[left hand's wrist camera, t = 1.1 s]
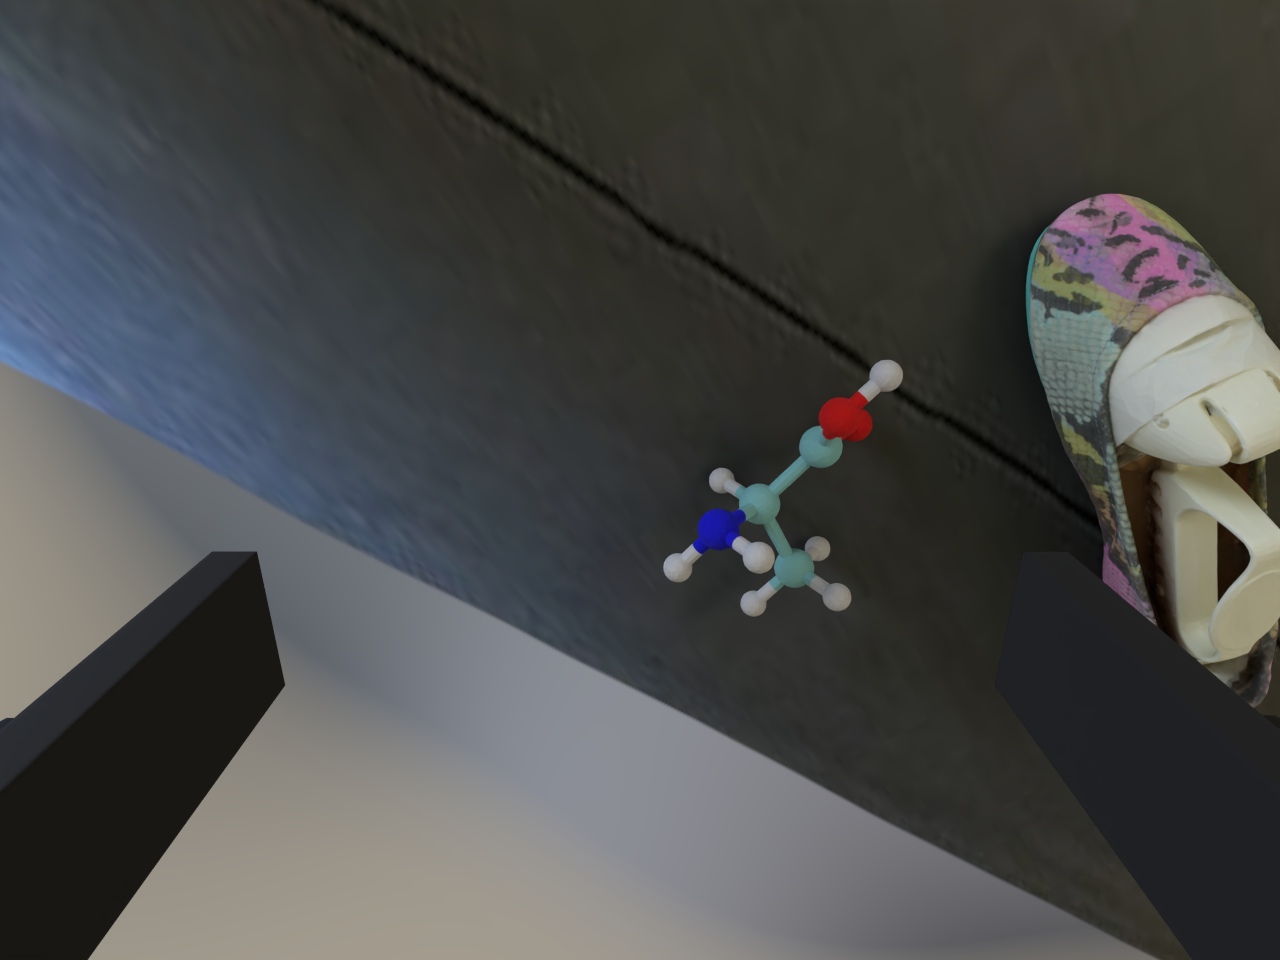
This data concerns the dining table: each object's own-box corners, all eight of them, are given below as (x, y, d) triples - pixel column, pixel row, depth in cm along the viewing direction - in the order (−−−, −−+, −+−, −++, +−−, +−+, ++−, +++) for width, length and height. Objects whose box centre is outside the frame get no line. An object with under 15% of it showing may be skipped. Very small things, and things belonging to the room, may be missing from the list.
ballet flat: (1185, 149, 30) (1380, 136, 22) (1245, 614, 39) (1402, 726, 31) (984, 231, 32) (1101, 247, 24) (1084, 664, 40) (1195, 785, 32)
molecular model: (938, 611, 34) (885, 684, 26) (749, 594, 39) (654, 651, 31) (933, 362, 33) (876, 355, 25) (739, 378, 38) (637, 376, 30)
